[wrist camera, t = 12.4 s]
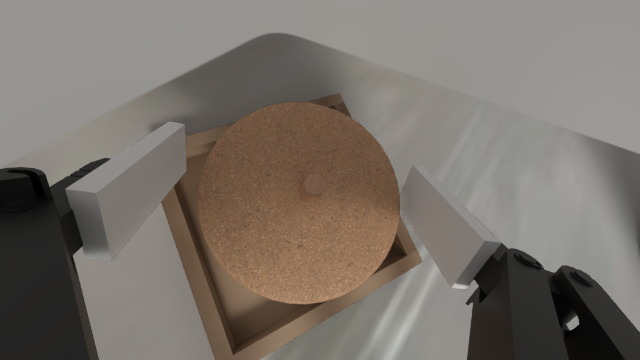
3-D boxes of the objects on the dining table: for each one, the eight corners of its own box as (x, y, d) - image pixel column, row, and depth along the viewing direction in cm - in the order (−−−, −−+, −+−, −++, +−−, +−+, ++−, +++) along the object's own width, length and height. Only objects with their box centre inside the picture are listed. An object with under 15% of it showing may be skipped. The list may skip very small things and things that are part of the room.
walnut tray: (332, 106, 24) (339, 93, 22) (407, 260, 22) (422, 261, 20) (155, 158, 19) (142, 148, 17) (227, 364, 17) (222, 381, 15)
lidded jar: (195, 256, 18) (131, 265, 9) (253, 131, 21) (249, 49, 12) (332, 300, 19) (394, 346, 10) (366, 177, 23) (435, 131, 14)
